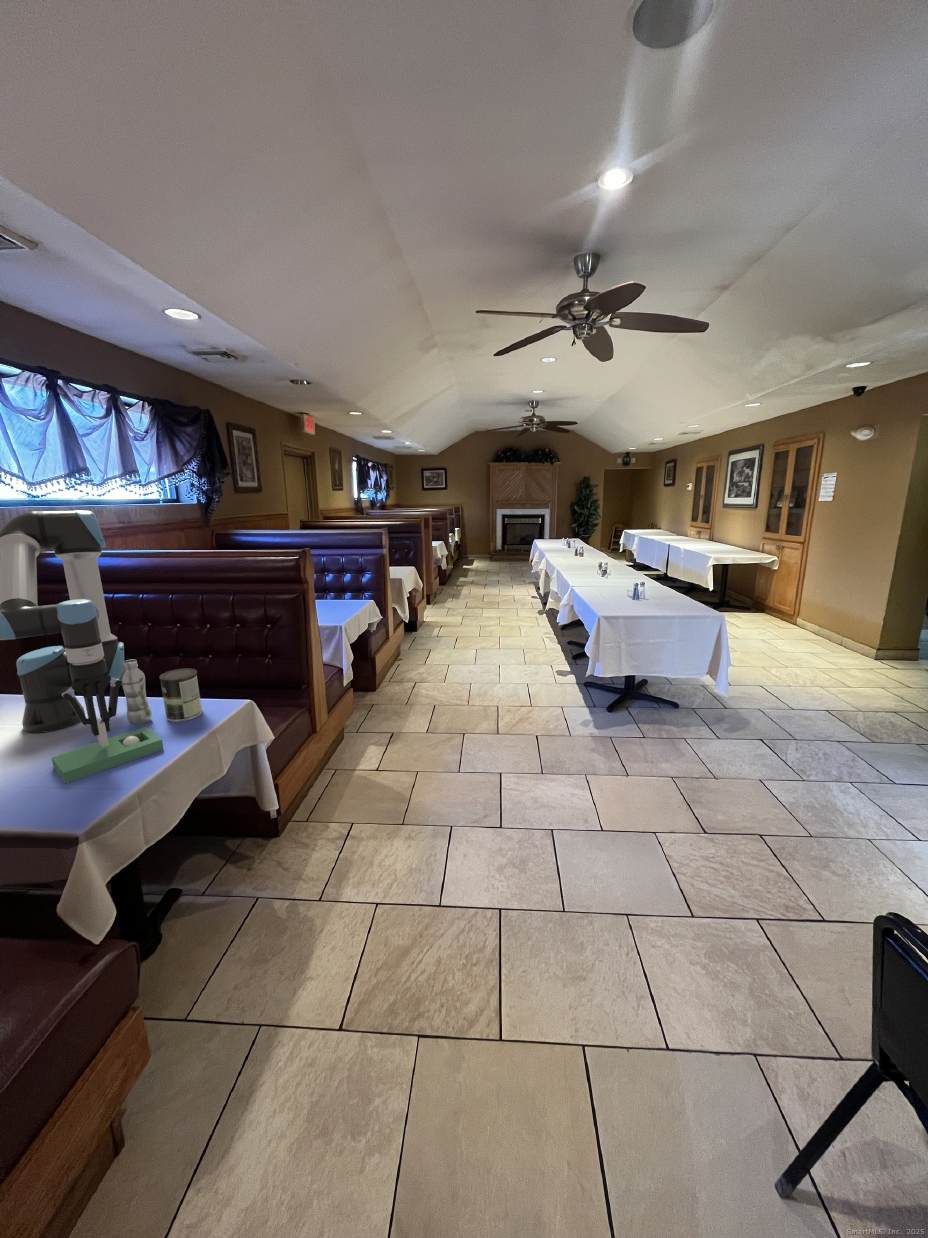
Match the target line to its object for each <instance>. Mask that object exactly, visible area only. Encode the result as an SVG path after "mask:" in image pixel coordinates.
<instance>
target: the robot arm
mask: <svg viewBox="0 0 928 1238" xmlns="http://www.w3.org/2000/svg"><path fill="white" fill-rule="evenodd" d="M106 546H107V545H106V542H105V539H104V535H103V532H102V530H101V527H100V524H99V521H98V519H97V516H96V514H95V513H94V512H93V511H90V510H78V509H73V510H71V509H70V510H47V511H46V510H45V511H44V510H41V511H38V510H37V511H36V510H35V511H33V510H32V511H27V512H23V513H21V514H17V515H16V516H14V517H12V518H11V519H9V520H8V521H7V522H5V524H4V525H3V526H2V527H1V528H0V641H6V640H7V641H8V640H16V639H24V638H30V637H31V638H32V637H37V636H45V635H54V634H61V636H62V639H63V644H64V645H57V646H56V645H53V646H46V647H42V648H40V649H39V648H38V649H35V650H32V651H30V652H27V653H25V654H23V655H21V656H20V657H19V658H17V659H16V669H17V671H16V674H17V676H18V678H19V679H18V680H19V684H20V687H21V691H22V695H23V699H24V703H25V704H24V705H25V707H24V712H23V716H22V721H21V722H22V724H21V725H22V728H23V731H24V732H26V733H29V734H30V733H32V734H40V733H41V734H42V733H49V732H54V731H57V730H61V729H65V728H68V727H71V726H72V725H75V724H77V723H79V722H80V723H81V724H82V725H84V726H89V725H90V731H91V734H92V735H93V736H95V737H96V736H97V740H98V741H97V742H99V744H100V745H101V746H102V747H104V746H107V745H109V742H108V739H109V738H108V734H107V733H109V732H111V724H110V720H111V719H112V718H113V717H116V716H117V714H118V713H117V712H118V701H119V689H120V688H121V686H122V681H121V680H120V678H121V675H122V673H123V672H124V670H125V669H123V662H124V661H125V644H124V642H121V641H119V640H118V637H117V636H116V635H114V634H113V633H111V628H110V624H109V623H110V622H109V617H108V616H109V615H108V613H107V606H106V601H105V596H104V590H103V584H102V581H101V580H102V579H101V573H100V569H99V563H98V558H99V557H100V556H101V555H102V549H103V548H106ZM42 551H54V555H55V557H56V558H58V559H59V560H61V562H62V565H63V570H64V576H65V581H66V585H67V590H68V595H69V600H65V601H61V602H59V603H56V604H55V603H54V604H48V605H47V604H46V605H38V577H37V575H38V574H37V573H38V572H37V571H38V570H37V557H38V556H39V555H40V553H41V552H42ZM108 686H110V689H109V698H108V707H107V703H106V702H107V701H106V698H105V697H106V694H105V691H106V689H107V687H108ZM75 692H76V693H78V695H79V694H80V695H81V697H83V699H84V703H85V708H84V706H83V705H82V703H81V702H80V701H79V700H78V698H77V697H76V694H75ZM93 696H95V697H96V702H97V708H98V713H99V716H100V719H99V720H97V719H98V718H97V713H96V709H95V703H94V697H93ZM85 709H86V713H85ZM86 714H87V717H88V718H87V717H86Z"/></svg>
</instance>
